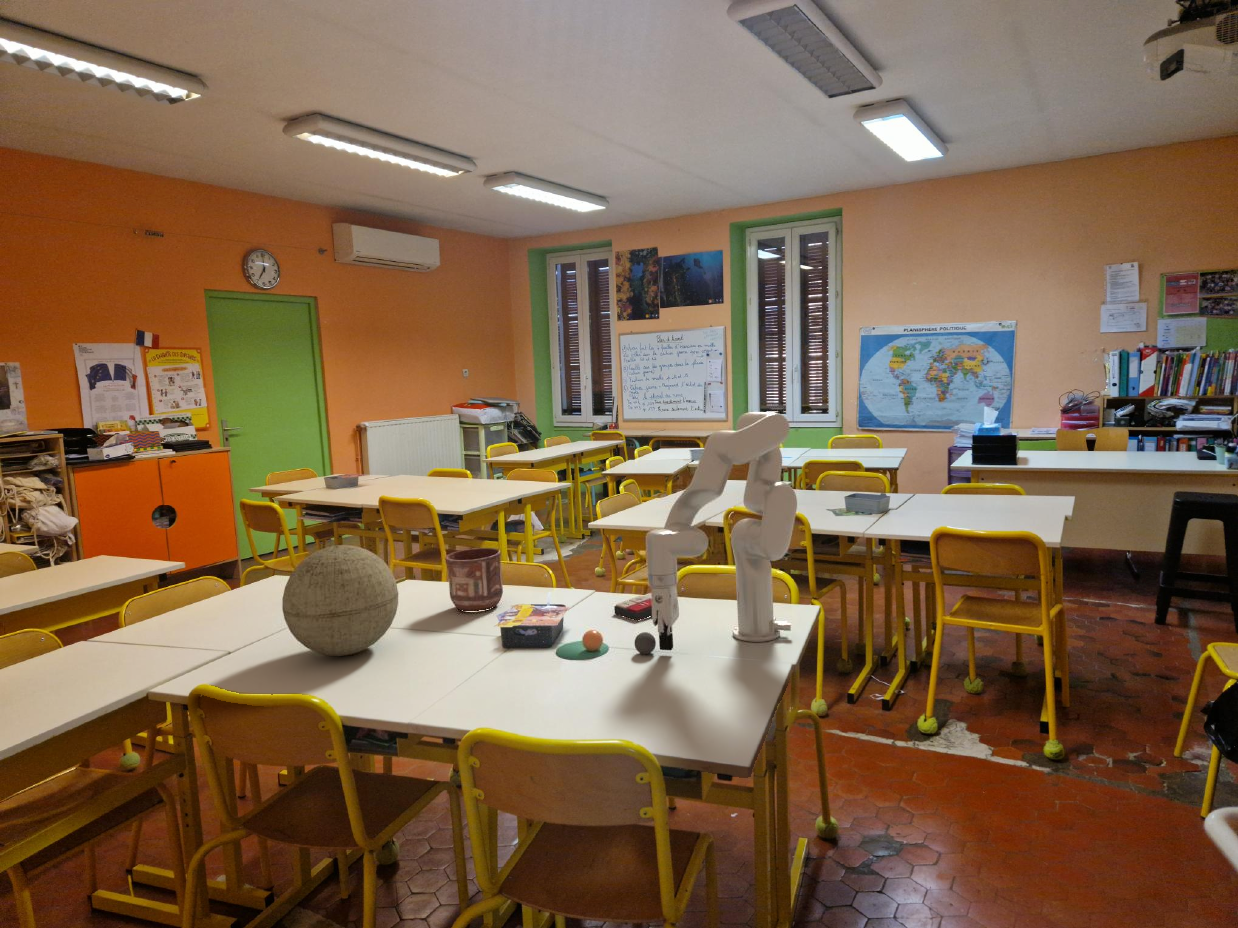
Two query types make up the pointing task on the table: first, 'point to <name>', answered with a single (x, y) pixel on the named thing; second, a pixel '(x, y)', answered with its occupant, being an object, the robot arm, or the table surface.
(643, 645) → the ball
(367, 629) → the celestial globe
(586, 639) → the ball
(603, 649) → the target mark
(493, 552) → the pottery
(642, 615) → the calculator
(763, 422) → the robot arm
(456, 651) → the table surface
